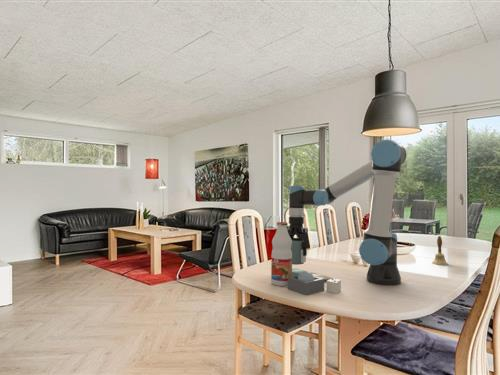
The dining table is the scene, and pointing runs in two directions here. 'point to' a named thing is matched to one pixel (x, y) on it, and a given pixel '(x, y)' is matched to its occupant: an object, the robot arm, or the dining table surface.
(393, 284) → the robot arm
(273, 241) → the fruit juice
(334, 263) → the dining table surface
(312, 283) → the collar
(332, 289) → the die
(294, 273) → the track board
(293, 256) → the teal and white cup
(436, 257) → the hand bell
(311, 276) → the blue-grey ball
